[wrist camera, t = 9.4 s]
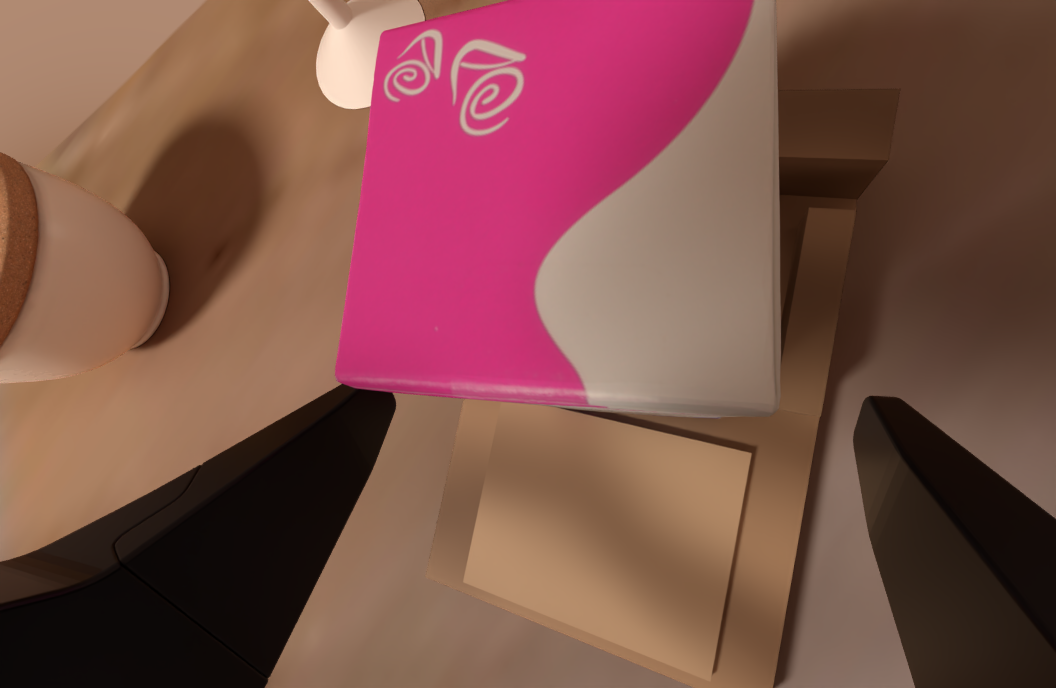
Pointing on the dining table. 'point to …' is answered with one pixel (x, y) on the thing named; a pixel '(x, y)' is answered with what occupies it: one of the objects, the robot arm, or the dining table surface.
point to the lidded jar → (70, 278)
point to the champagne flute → (356, 45)
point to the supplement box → (573, 209)
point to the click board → (674, 461)
